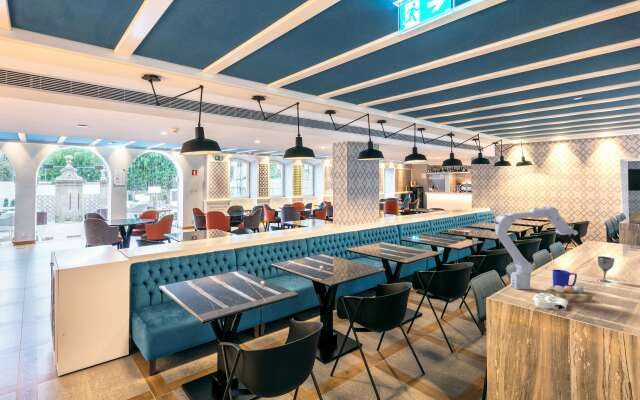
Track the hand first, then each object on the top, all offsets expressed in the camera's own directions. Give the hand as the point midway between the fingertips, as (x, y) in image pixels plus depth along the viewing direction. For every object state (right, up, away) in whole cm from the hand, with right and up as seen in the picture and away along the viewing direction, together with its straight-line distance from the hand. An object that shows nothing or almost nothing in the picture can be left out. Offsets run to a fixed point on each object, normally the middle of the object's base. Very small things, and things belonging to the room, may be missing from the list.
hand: (575, 243), depth 185 cm
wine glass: (+36, -27, +22) cm, 50 cm away
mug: (-3, -27, +5) cm, 28 cm away
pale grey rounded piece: (-18, -25, -11) cm, 32 cm away
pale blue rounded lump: (-7, -25, -12) cm, 28 cm away
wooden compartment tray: (-13, -27, -11) cm, 32 cm away
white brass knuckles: (-30, -28, -21) cm, 46 cm away
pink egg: (-13, -25, -12) cm, 30 cm away
